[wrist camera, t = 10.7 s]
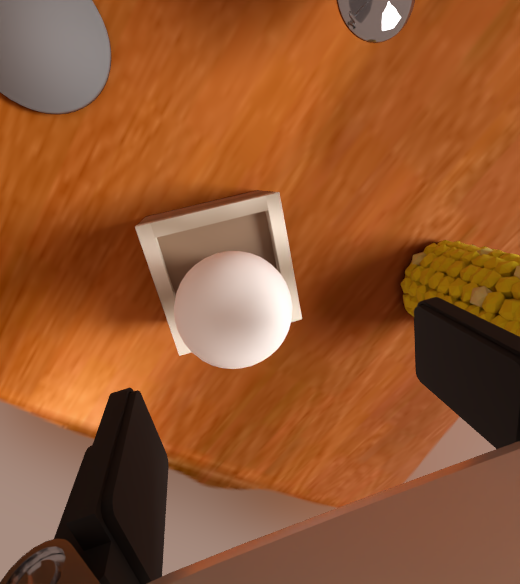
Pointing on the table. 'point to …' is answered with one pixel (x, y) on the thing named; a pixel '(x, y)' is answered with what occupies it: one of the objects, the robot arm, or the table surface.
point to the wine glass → (375, 17)
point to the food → (467, 281)
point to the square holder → (215, 243)
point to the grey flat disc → (53, 54)
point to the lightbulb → (233, 309)
